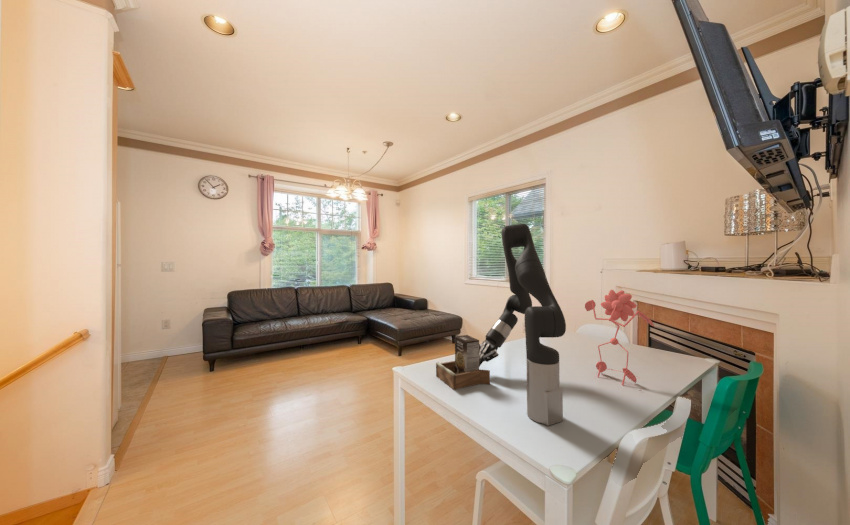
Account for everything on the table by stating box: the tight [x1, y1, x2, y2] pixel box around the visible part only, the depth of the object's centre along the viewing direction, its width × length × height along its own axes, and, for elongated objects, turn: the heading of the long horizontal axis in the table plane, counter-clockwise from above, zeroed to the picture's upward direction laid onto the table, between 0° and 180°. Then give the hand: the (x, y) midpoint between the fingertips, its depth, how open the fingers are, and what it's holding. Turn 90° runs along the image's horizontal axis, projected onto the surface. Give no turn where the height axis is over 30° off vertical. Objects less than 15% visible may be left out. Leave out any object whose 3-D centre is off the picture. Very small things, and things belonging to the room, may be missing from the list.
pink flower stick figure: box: [584, 289, 655, 392], centre depth 117 cm, size 15×26×35 cm, turn 30°
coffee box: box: [454, 334, 480, 374], centre depth 119 cm, size 9×6×16 cm
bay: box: [435, 360, 491, 390], centre depth 118 cm, size 18×15×6 cm
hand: (474, 366), depth 121 cm, fingers closed
